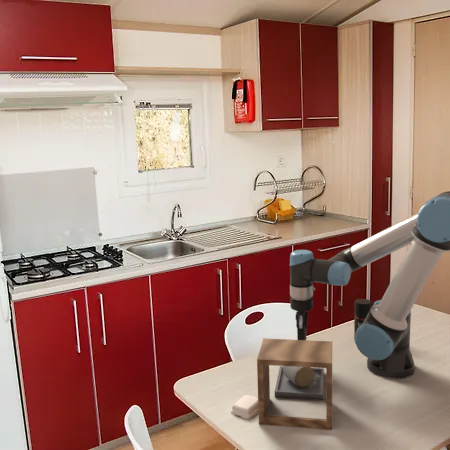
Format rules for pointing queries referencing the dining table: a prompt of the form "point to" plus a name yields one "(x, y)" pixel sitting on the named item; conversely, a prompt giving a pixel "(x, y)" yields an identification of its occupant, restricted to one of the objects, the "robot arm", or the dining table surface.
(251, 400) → the soap
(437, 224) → the robot arm
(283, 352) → the wooden cube shelf
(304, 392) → the tray
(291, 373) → the ceramic mug
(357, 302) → the deodorant
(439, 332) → the dining table surface
